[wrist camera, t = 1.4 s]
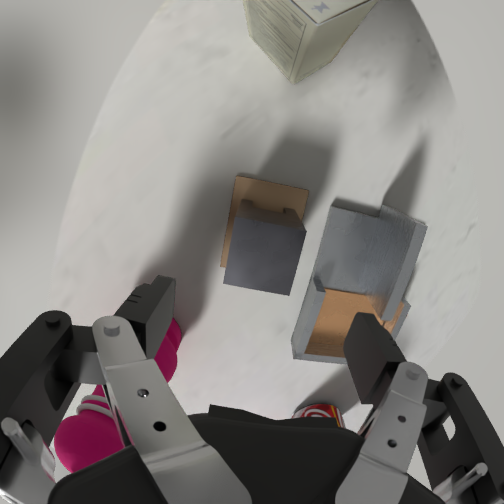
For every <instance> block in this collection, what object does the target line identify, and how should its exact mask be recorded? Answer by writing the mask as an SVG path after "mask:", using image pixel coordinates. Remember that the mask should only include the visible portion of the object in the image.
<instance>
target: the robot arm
mask: <svg viewBox="0 0 504 504" xmlns="http://www.w3.org/2000/svg"><path fill="white" fill-rule="evenodd" d="M175 287H176V280H175V279H174V278H169V277H165V276H160V275H158V276H157V277H156V279H155V280H154V281H153V283H152V284H151V285H149V284H143V285H141V286H139V287H137V288H135V289H134V291H133V292H132V293H131V295H129V297H128V298H127V300H125V302H124V303H123V304H122V305H121V306H120V308H119V309H118V310H117V311H116V313H115V314H114V315H113V316H105V317H101V318H99V319H97V320H96V321H95V322H94V323H93V325H92V327H88V326H76V325H72V322H71V318H70V316H69V315H68V314H67V313H65V312H62V311H57V310H53V311H47V312H44V313H42V314H41V315H40V316H38V317H37V318H36V320H35V321H34V322H33V323H32V324H31V325H30V326H29V327H28V328H27V329H26V330H25V331H24V332H23V333H22V334H21V336H20V337H19V338H18V339H17V340H16V341H15V342H14V343H13V344H12V345H11V347H10V348H9V349H8V350H7V351H6V352H5V353H4V355H3V356H2V357H1V358H0V497H1V498H3V499H4V500H6V501H7V502H10V503H14V504H17V503H19V504H504V447H503V445H502V443H501V441H500V439H499V437H498V435H497V433H496V431H495V429H494V427H493V426H492V424H491V422H490V420H489V418H488V417H487V415H486V413H485V411H484V410H483V408H482V406H481V405H480V403H479V402H478V400H477V398H476V396H475V395H474V393H473V391H472V390H471V388H470V387H469V385H468V383H467V382H466V381H465V380H464V379H463V378H462V377H461V376H459V375H457V374H455V373H446V374H445V375H444V376H443V378H442V380H441V381H435V380H431V379H428V375H427V373H426V371H425V370H424V369H423V368H422V367H421V366H419V365H417V364H415V363H412V362H407V361H406V359H405V357H404V355H403V354H402V352H401V351H400V349H399V347H398V346H397V344H396V342H395V341H394V340H393V337H392V336H391V334H390V333H389V331H387V330H386V329H385V328H384V327H383V326H382V325H380V323H379V321H378V320H377V318H376V317H375V315H374V314H371V313H364V312H357V313H356V314H355V316H354V319H353V321H352V324H351V326H350V328H349V331H348V333H347V335H346V338H345V340H344V344H343V352H344V355H345V358H346V361H347V364H348V366H349V369H350V372H351V375H352V378H353V381H354V383H355V386H356V389H357V392H358V395H359V398H360V401H361V404H373V408H372V409H371V410H370V412H369V414H368V416H367V417H366V419H365V421H364V423H363V424H362V426H361V428H360V430H359V431H358V433H355V432H353V431H351V430H348V429H346V428H343V427H339V426H338V424H337V420H336V417H312V416H306V417H299V418H292V419H284V420H273V419H269V418H266V417H263V416H260V415H257V414H254V413H251V412H248V411H245V410H241V409H234V408H228V407H222V406H217V405H211V404H210V407H209V412H208V413H200V414H192V415H186V413H185V412H184V410H183V409H182V407H181V405H180V404H179V402H178V400H177V399H176V397H175V395H174V394H173V392H172V390H171V389H170V387H169V385H168V383H167V382H166V380H165V378H164V376H163V375H162V373H161V371H160V369H159V367H158V365H157V364H156V362H155V360H154V358H155V356H156V354H157V351H158V349H159V347H160V345H161V343H162V341H163V339H164V337H165V334H166V332H167V330H168V328H169V326H170V324H171V321H172V317H173V312H174V299H175ZM81 383H85V384H96V385H102V387H103V390H104V393H105V396H106V399H107V402H108V405H109V408H110V411H111V413H112V416H113V419H114V422H115V424H116V427H117V430H118V433H119V436H120V439H121V441H122V444H123V446H124V448H123V449H121V450H119V451H118V452H116V453H114V454H112V455H110V456H108V457H106V458H104V459H102V460H100V461H97V462H95V463H93V464H91V465H89V466H87V467H85V468H83V469H80V470H78V471H76V472H74V473H71V474H69V475H67V476H66V477H64V478H62V479H61V480H60V481H59V482H57V483H55V480H54V470H55V458H54V456H53V454H52V452H51V451H50V449H49V446H50V444H51V442H52V439H53V437H54V435H55V433H56V431H57V429H58V427H59V425H60V423H61V421H62V419H63V417H64V415H65V413H66V411H67V409H68V407H69V405H70V404H71V402H72V400H73V398H74V396H75V394H76V392H77V390H78V389H79V387H80V385H81ZM449 416H451V418H452V420H453V422H454V424H455V429H456V430H455V434H454V436H453V438H452V439H451V440H450V441H449V438H448V436H447V434H446V432H445V429H444V427H443V425H442V424H443V423H444V422H445V420H446V419H447V418H448V417H449ZM416 444H417V445H418V448H419V451H420V453H421V456H422V460H423V463H424V466H425V469H426V472H427V475H428V479H429V482H430V485H431V489H432V491H431V490H429V489H428V488H426V487H425V486H424V485H422V484H421V483H419V482H418V481H417V480H416V479H414V478H413V477H412V476H410V475H409V474H408V473H407V470H408V466H409V464H410V461H411V459H412V456H413V453H414V450H415V447H416Z"/></svg>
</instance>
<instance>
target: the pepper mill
mask: <svg viewBox="0 0 504 504" xmlns="http://www.w3.org/2000/svg"><path fill="white" fill-rule="evenodd" d="M180 342H181V330H180V328H179V326H178V324H177V322H176V321H175V320H174V318H173V317H172V321H171V324H170V326H169V328H168V330H167V332H166V334H165V337H164V339H163V341H162V343H161V345H160V347H159V349H158V351H157V354H156V356H155V358H154V360H155V362H156V364H157V365H158V367H159V369H160V371H161V373H162V375H163V376H164V378H165V380H166V382H167V383H168V382H169V381H170V380H171V378H172V376H173V374H174V372H175V370H176V367H177V354H176V353H177V350H178V348H179V345H180ZM76 414H77V415H75V416H70V417H67V418H66V419H64V420H63V421H62V422H61V423H60V425H59V427H58V429H57V431H56V433H55V437H54V447H55V451H56V454H57V456H58V458H59V460H60V461H61V463H62V464H63V465H64V466H65V467H66V468H67V470H69V471H70V472H71V473H74V472H76V471H78V470H80V469H83V468H85V467H87V466H89V465H91V464H93V463H95V462H97V461H100V460H102V459H104V458H106V457H108V456H110V455H112V454H114V453H116V452H118V451H119V450H121V449H123V448H124V446H123V444H122V441H121V439H120V436H119V433H118V430H117V427H116V424H115V422H114V419H113V416H112V413H111V411H110V408H109V405H108V402H107V399H106V396H105V393H104V390H103V387H102V385H97V386H96V388H95V390H94V392H93V393H92V395H87V396H85V397H84V398H83V399H82V400H81V404H80V405H79V406H78V407H77V410H76Z"/></svg>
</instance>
